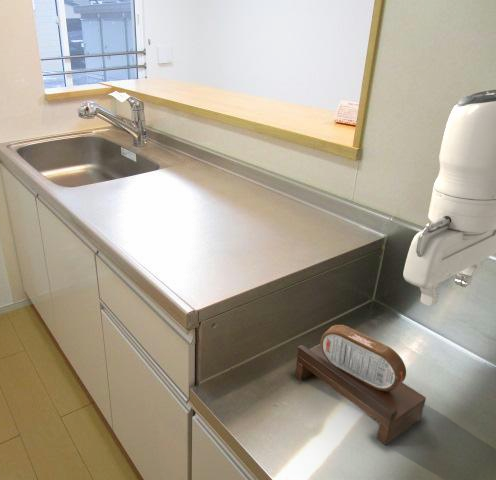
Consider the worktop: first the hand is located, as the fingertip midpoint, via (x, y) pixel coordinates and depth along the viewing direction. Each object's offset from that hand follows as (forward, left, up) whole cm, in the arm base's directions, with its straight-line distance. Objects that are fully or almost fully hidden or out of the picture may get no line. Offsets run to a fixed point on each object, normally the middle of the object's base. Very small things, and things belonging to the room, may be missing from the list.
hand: (445, 293), depth 70 cm
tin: (+9, -5, -20) cm, 22 cm away
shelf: (+8, -6, -25) cm, 27 cm away
